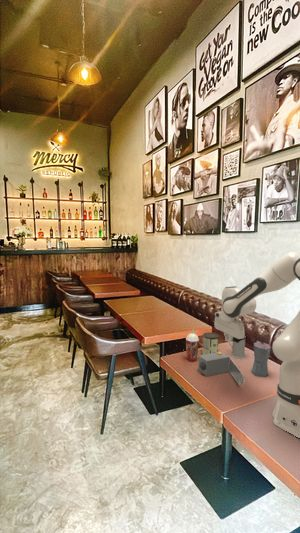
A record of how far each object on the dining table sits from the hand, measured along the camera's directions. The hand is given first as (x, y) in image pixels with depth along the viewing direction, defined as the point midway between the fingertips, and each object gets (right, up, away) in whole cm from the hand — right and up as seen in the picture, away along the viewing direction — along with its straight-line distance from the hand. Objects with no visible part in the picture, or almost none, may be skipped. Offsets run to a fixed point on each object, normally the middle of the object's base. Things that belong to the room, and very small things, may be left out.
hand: (228, 341), depth 147 cm
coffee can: (-2, -19, +37) cm, 41 cm away
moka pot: (+22, -22, +13) cm, 34 cm away
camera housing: (-5, -21, +15) cm, 26 cm away
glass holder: (+16, -20, +39) cm, 46 cm away
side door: (+6, -22, +3) cm, 23 cm away
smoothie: (-15, -20, +30) cm, 39 cm away
